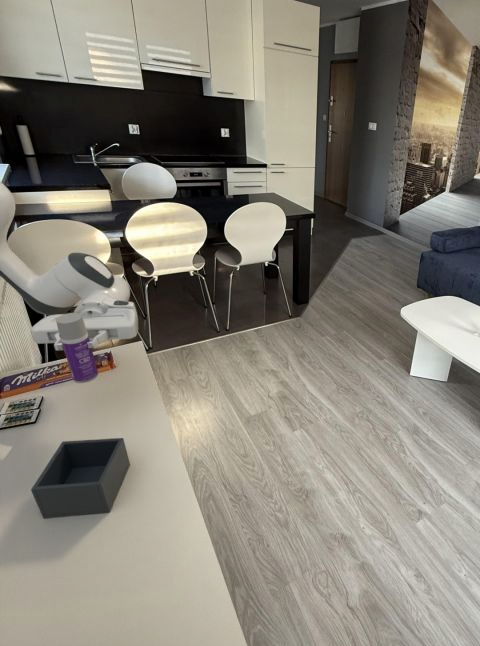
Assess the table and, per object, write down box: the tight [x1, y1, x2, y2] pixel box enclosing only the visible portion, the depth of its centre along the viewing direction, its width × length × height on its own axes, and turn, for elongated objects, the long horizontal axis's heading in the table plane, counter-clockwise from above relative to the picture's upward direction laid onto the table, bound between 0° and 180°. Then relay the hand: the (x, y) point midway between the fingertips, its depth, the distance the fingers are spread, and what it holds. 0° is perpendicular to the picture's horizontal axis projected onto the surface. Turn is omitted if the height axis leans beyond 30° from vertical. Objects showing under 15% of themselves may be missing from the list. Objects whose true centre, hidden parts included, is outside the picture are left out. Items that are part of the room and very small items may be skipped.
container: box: [56, 312, 99, 384], centre depth 84 cm, size 5×5×15 cm
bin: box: [30, 437, 131, 519], centre depth 78 cm, size 11×11×8 cm
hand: (75, 346), depth 83 cm, fingers closed on container, 4 cm apart
